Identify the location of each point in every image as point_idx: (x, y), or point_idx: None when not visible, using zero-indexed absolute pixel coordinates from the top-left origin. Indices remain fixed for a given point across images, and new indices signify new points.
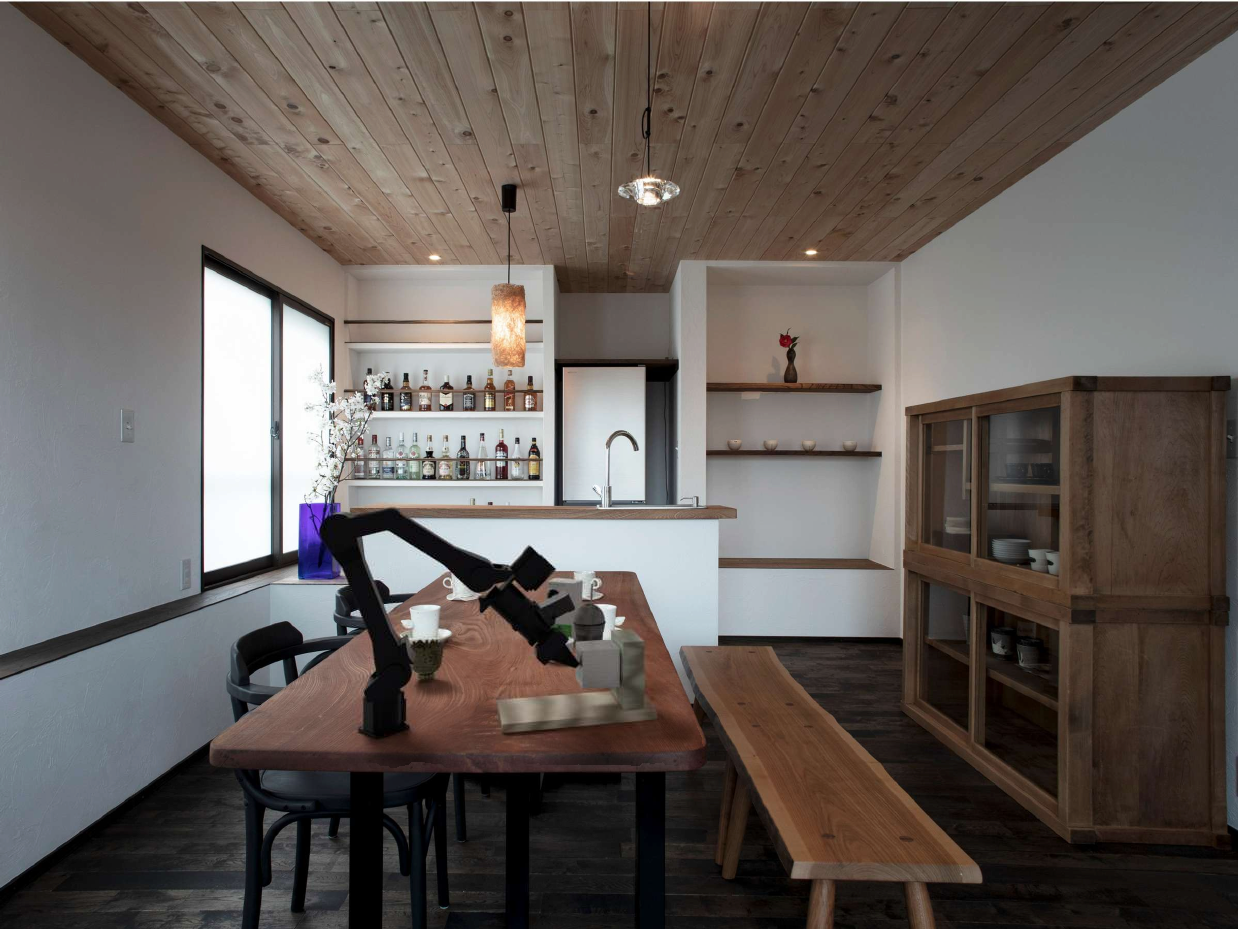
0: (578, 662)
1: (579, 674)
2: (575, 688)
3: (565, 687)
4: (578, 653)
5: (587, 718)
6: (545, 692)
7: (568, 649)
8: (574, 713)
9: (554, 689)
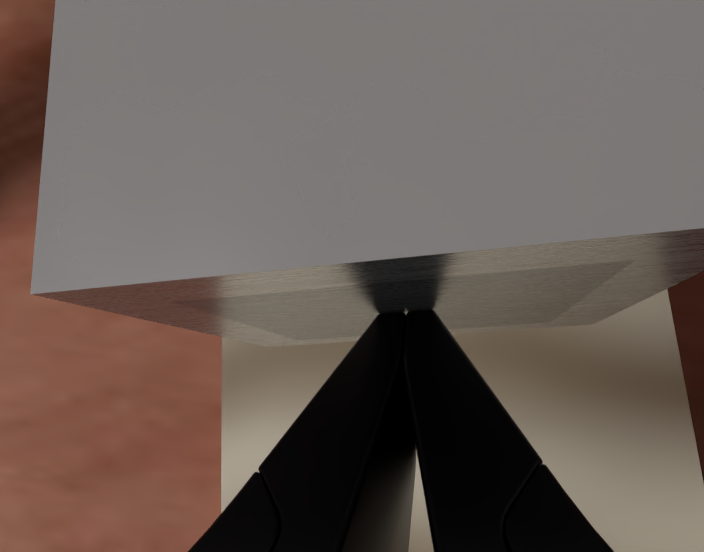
0: (436, 317)
1: (448, 324)
2: (39, 326)
3: (8, 380)
4: (347, 293)
5: (670, 321)
6: (52, 509)
7: (585, 527)
8: (593, 398)
9: (20, 447)
